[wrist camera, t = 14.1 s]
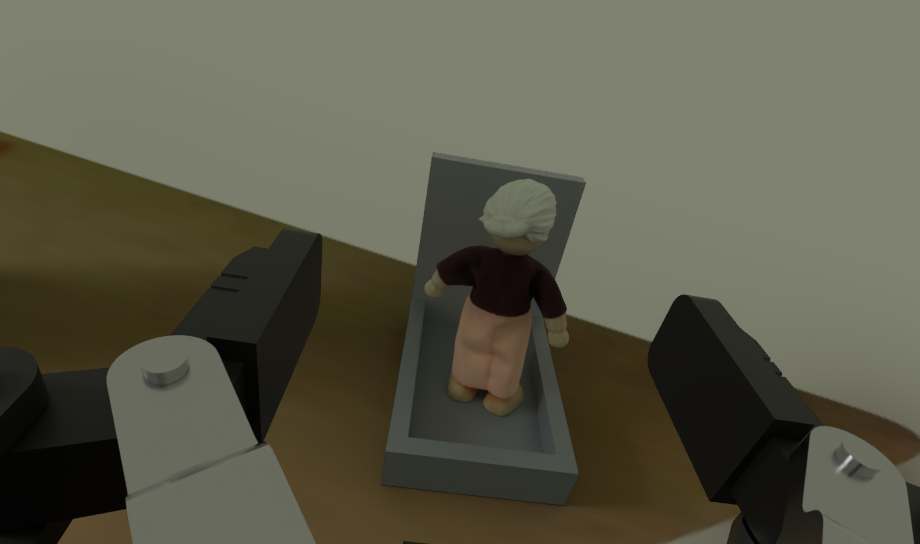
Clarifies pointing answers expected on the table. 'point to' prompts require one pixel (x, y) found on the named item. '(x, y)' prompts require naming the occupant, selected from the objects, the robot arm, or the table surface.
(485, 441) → the case
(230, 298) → the robot arm
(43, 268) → the table surface
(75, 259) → the table surface
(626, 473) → the table surface
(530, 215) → the grandmother figurine
